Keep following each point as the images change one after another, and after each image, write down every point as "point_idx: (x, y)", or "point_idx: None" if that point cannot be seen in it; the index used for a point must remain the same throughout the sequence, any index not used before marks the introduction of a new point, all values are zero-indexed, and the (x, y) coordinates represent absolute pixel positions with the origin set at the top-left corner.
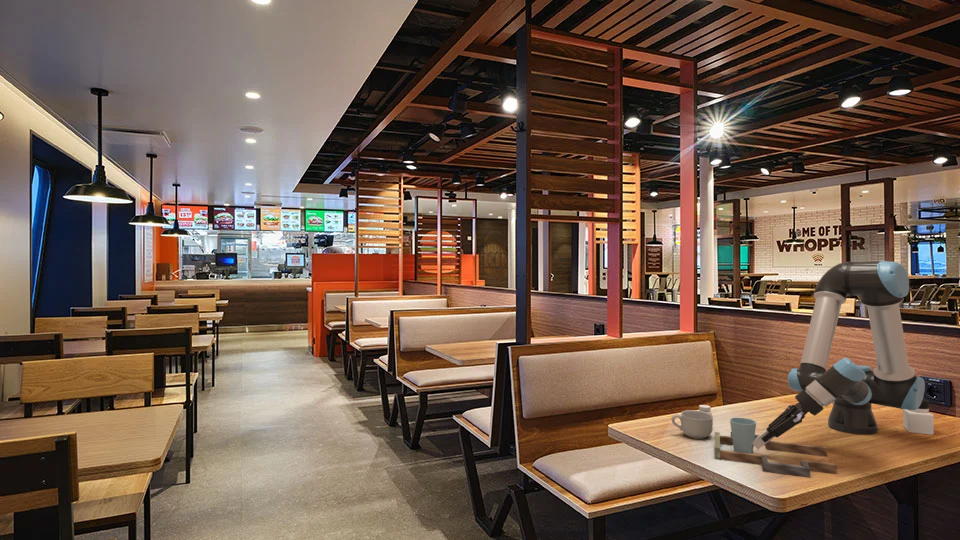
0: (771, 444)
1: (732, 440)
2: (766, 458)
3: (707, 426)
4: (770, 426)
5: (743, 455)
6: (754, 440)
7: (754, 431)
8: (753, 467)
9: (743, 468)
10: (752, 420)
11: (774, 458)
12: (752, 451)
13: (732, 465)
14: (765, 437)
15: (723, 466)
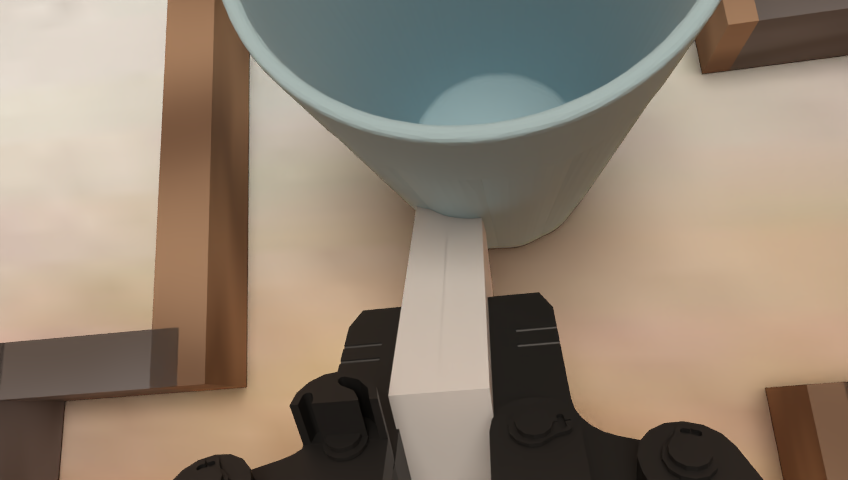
0: (810, 457)
1: None
2: (94, 385)
3: None
4: (524, 470)
5: (167, 161)
6: (416, 223)
7: (411, 179)
8: (98, 274)
9: (48, 198)
10: (650, 54)
11: None
12: None
13: (93, 111)
14: (342, 366)
15: (49, 53)
